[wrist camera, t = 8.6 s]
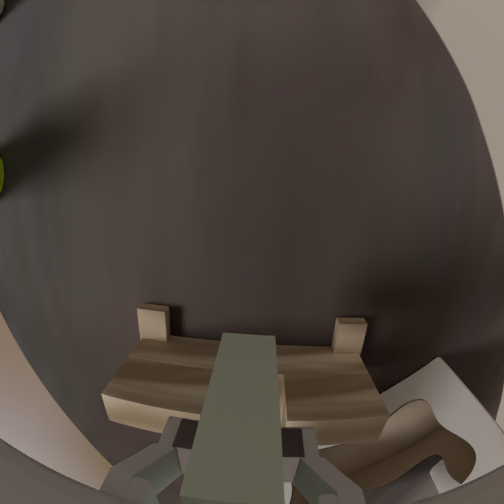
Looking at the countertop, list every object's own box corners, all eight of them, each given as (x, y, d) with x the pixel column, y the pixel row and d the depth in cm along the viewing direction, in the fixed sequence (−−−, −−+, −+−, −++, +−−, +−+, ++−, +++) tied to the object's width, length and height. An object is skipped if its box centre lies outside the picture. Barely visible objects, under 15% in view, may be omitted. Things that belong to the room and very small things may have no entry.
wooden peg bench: (142, 302, 23) (89, 358, 14) (363, 317, 23) (406, 381, 14) (151, 378, 25) (115, 443, 16) (344, 392, 24) (368, 462, 15)
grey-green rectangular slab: (223, 332, 14) (179, 495, 5) (275, 336, 14) (284, 504, 5) (223, 482, 17) (209, 578, 8) (256, 485, 17) (251, 581, 8)
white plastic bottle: (451, 527, 17) (452, 521, 16) (430, 478, 29) (427, 466, 28) (486, 506, 16) (490, 497, 15) (460, 459, 28) (461, 446, 27)
